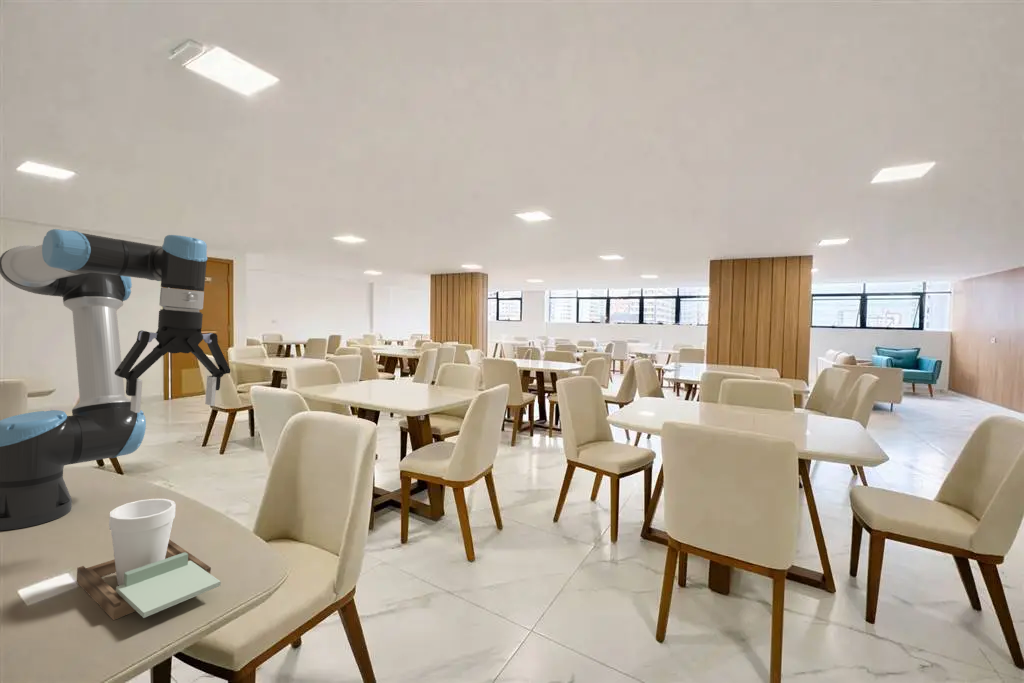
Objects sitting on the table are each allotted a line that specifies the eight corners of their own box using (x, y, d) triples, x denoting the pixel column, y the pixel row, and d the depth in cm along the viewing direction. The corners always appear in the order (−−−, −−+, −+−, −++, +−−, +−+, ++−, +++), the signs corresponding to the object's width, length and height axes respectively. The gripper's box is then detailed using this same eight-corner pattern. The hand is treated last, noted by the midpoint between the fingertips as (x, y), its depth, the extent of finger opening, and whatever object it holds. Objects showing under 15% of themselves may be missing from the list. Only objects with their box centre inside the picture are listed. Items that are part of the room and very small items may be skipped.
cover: (115, 591, 74) (116, 575, 74) (190, 564, 84) (191, 550, 84) (143, 617, 69) (144, 600, 69) (220, 585, 78) (221, 570, 78)
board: (76, 581, 80) (77, 567, 80) (168, 551, 92) (169, 539, 92) (113, 620, 71) (114, 604, 71) (209, 581, 83) (210, 567, 83)
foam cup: (104, 574, 83) (108, 505, 82) (167, 559, 89) (171, 495, 89) (107, 599, 76) (111, 524, 75) (175, 580, 82) (179, 511, 82)
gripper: (112, 305, 83) (104, 418, 83) (250, 315, 104) (244, 405, 104) (98, 303, 87) (91, 411, 87) (234, 312, 108) (228, 399, 108)
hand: (174, 408), depth 96 cm, fingers open, 13 cm apart
